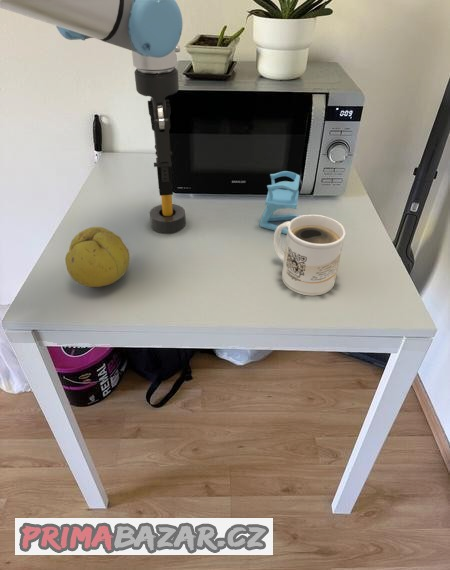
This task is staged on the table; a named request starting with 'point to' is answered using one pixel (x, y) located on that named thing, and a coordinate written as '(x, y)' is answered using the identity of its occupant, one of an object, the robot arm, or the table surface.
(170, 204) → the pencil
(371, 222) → the table surface
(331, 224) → the mug
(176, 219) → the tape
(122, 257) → the fruit
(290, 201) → the chair
